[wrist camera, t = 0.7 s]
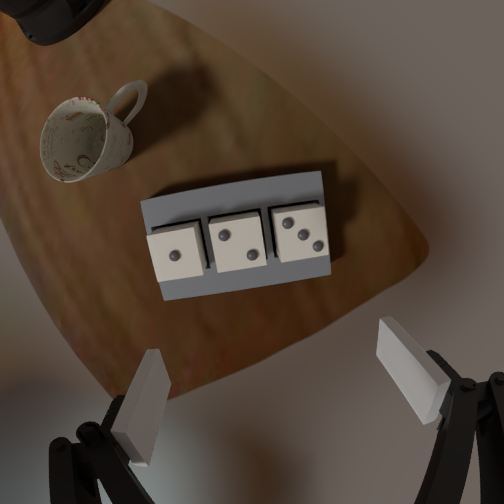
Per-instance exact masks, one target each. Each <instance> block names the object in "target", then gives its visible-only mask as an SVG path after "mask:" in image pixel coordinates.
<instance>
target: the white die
mask: <svg viewBox="0 0 504 504" xmlns="http://www.w3.org/2000/svg"><path fill="white" fill-rule="evenodd" d="M209 230H210V236H211V241H212V246H213V251H214V256H215V261H216V266H217V271H218V273H220V272H227V271H233V270H239V269H246V268H252V267H258V266H264V265H267V263H266V256H265V249H264V243H263V236H262V229H261V222H260V216H259V214H258V212H257V211H255V212H249V213H242V214H236V215H230V216H224V217H218V218H213V219H211V221H210V223H209Z"/></svg>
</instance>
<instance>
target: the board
mask: <svg viewBox="0 0 504 504" xmlns="http://www.w3.org/2000/svg"><path fill="white" fill-rule="evenodd" d="M311 200H313V203H316V204H319V205H321V206H324V209H325V201H324V192H323V184H322V176H321V171H309V172H300V173H292V174H285V175H277V176H270V177H263V178H256V179H250V180H243V181H237V182H231V183H225V184H219V185H213V186H208V187H203V188H197V189H192V190H187V191H182V192H177V193H172V194H167V195H162V196H158V197H153V198H149V199H145V200H142V201H140V202H141V207H142V212H143V217H144V222H145V226H146V231H147V235H149V234H150V233H151V232H153V231H154V230H155V229H158V228H159V225H164V224H170V223H175V222H180V221H186V220H191V219H197V218H201V222H202V227H203V232H204V237H205V243H206V248H207V253H208V258H209V261H207V266H206V269H205V272H204V275H201V276H195V277H188V278H181V279H175V280H168V281H161V282H159V284H160V287H161V291H162V295H163V298H164V301H166V300H173V299H181V298H188V297H195V296H202V295H209V294H216V293H223V292H229V291H236V290H242V289H248V288H255V287H261V286H267V285H273V284H279V283H285V282H291V281H296V280H302V279H308V278H313V277H319V276H324V275H330V274H331V267H330V253H329V255H324V256H318V257H312V258H306V259H301V260H295V261H289V262H283V263H281V261H280V259H279V256H278V254H277V251H276V250H275V251H273V245H272V237H271V230H270V223H269V217H268V210H267V207H269V206H276V205H282V204H289V203H296V202H304V201H311ZM256 208H259V210H260V217H261V224H262V230H263V237H264V244H265V251H266V252H265V256H266V263H267V265H264V266H258V267H252V268H246V269H239V270H233V271H227V272H220V273H218V271H217V266H216V261H215V256H214V251H213V246H212V241H211V236H210V230H209V223H210V221H211V217H210V216H214V215H219V214H225V213H231V212H237V211H243V210H250V209H256ZM325 219H326V210H325ZM326 229H327V219H326ZM327 240H328V230H327ZM328 252H329V241H328Z"/></svg>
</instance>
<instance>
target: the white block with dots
mask: <svg viewBox="0 0 504 504" xmlns="http://www.w3.org/2000/svg"><path fill="white" fill-rule="evenodd" d="M271 215H272V223H273V230H274V237H275V244H276V251H277V254H278V256H279V259H280V261H281V263H283V262H289V261H295V260H301V259H306V258H312V257H318V256H324V255H329V252H328V240H327V229H326V219H325V209H324V206H321V205H319V204H316V203H309V204H302V205H295V206H288V207H281V208H274V209H271Z"/></svg>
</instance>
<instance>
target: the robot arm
mask: <svg viewBox="0 0 504 504" xmlns="http://www.w3.org/2000/svg"><path fill="white" fill-rule="evenodd" d="M103 1H104V0H0V11H1V12H3V13H5V14H7V15H9V16H10V17H12V18H14V19H15V20H16V22H17V23H18V25H19V26H20V28H21V30H22V31H23V33H24V35H25V36H26V38H27V39H28V40H30V41H32V42H33V43H35V44H37V45H41V46H47V45H52V44H55V43H57V42H60V41H62V40H63V39H65V38H67V37H69V36H70V35H72V34H73V33H74V32H76V31H77V30H78V29H79V28H81V27H82V26H83V25H84V24H85V23H86V22H87V21H88V20H89V19H90V18H91V17H92V16H93V15H94V14H95V13H96V11H97V10H98V9H99V7H100V6H101V4H102V3H103ZM376 355H377V357H378V358H379V360H380V361H381V362H382V364H383V365H384V367H385V368H386V370H387V371H388V373H389V374H390V375H391V377H392V378H393V380H394V381H395V383H396V384H397V386H398V387H399V389H400V390H401V392H402V393H403V395H404V396H405V398H406V399H407V401H408V402H409V404H410V405H411V407H412V408H413V409H414V411H415V413H416V414H417V416H418V417H419V419H420V420H421V422H422V423H423V425H425V424H427V423H429V422H431V421H434V420H435V419H436V418H437V416H438V413H439V412H440V413H441V415H442V416H443V417H442V419H441V421H440V423H439V425H438V428H437V430H438V434H437V438H436V442H435V445H434V449H433V452H432V456H431V459H430V462H429V465H428V468H427V471H426V474H425V477H424V480H423V482H422V485H421V488H420V490H419V493H418V495H417V498H416V500H415V503H414V504H460V500H461V497H462V493H463V489H464V486H465V481H466V477H467V473H468V468H469V464H470V459H471V453H472V448H473V441H474V434H475V431H476V438H477V446H478V455H479V468H480V488H481V489H480V493H481V503H480V504H504V373H503V372H495V373H493V374H491V376H490V378H489V380H488V381H485V382H481V383H476V382H475V381H474V380H472V379H470V378H461V377H460V375H459V374H458V373H457V372H456V371H455V370H454V369H453V368H452V367H451V366H450V365H449V364H448V363H447V362H446V361H445V360H444V359H443V358H442V357H441V356H440V355H439V354H438V353H436V352H434V351H432V350H429V351H426V352H425V351H424V350H423V349H422V348H421V347H420V345H419V344H418V343H417V342H416V341H415V340H414V339H413V338H412V337H411V336H410V335H409V334H408V333H407V332H406V331H405V330H404V329H403V328H402V327H401V326H400V325H399V324H398V323H397V322H396V321H395V320H394V319H393V318H392V316H388V317H383V318H380V323H379V335H378V343H377V353H376ZM170 386H171V382H170V379H169V377H168V374H167V371H166V368H165V365H164V362H163V359H162V357H161V354H160V351H159V349H147V351H146V353H145V355H144V357H143V359H142V361H141V363H140V366H139V368H138V370H137V372H136V374H135V376H134V379H133V381H132V383H131V385H130V387H129V390H128V392H127V394H126V395H118V396H117V397H116V398H115V399H114V400H113V401H112V403H111V405H110V407H109V409H108V411H107V413H106V414H107V415H105V417H104V419H103V422H102V424H101V426H100V425H99V424H98V423H96V422H90V421H89V422H86V423H83V424H82V425H80V426H79V427H78V429H77V431H76V436H77V438H78V439H79V440H80V442H81V443H73V444H72V443H71V442H70V441H69V440H68V439H67V438H65V437H59V438H56V439H54V440H53V441H52V442H51V443H50V446H49V488H50V502H51V504H102V502H101V497H100V493H99V488H98V483H97V479H100V481H101V483H102V485H103V487H104V489H105V491H106V493H107V495H108V497H109V498H110V500H111V502H112V504H155V503H154V501H153V500H152V499H151V497H150V496H149V495H148V493H147V492H146V491H145V489H144V488H143V486H142V485H141V483H140V482H139V480H138V479H137V477H136V476H135V474H134V473H133V471H132V470H131V469H130V467H129V466H128V463H129V461H130V460H131V461H132V462H133V464H134V465H136V466H145V467H149V464H150V460H151V456H152V453H153V449H154V444H155V441H156V437H157V433H158V429H159V426H160V422H161V418H162V415H163V411H164V407H165V404H166V400H167V397H168V393H169V390H170Z"/></svg>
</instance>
